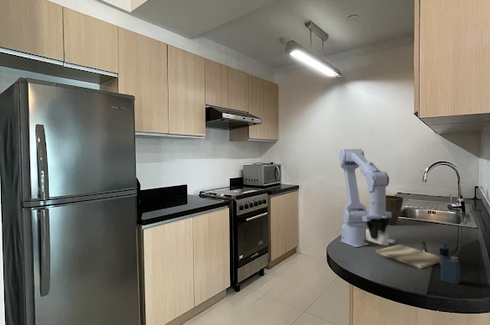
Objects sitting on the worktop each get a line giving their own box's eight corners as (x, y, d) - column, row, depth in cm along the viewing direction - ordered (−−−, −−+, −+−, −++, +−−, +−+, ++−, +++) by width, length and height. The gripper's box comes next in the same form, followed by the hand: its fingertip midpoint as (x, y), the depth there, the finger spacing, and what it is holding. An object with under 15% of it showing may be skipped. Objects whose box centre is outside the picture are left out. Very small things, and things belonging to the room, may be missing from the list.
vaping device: (439, 277, 89) (439, 241, 89) (459, 282, 86) (460, 245, 86) (438, 280, 87) (439, 243, 87) (459, 285, 84) (459, 247, 84)
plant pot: (403, 222, 162) (403, 196, 162) (402, 228, 150) (402, 199, 149) (376, 219, 170) (376, 194, 170) (373, 224, 158) (373, 197, 157)
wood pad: (375, 252, 113) (375, 250, 113) (399, 246, 120) (399, 244, 120) (420, 268, 97) (420, 265, 97) (444, 260, 104) (444, 257, 104)
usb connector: (364, 239, 109) (364, 229, 108) (369, 238, 110) (369, 228, 110) (390, 247, 98) (391, 236, 98) (396, 246, 100) (396, 235, 100)
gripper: (374, 206, 98) (373, 243, 98) (398, 202, 105) (398, 237, 105) (357, 203, 104) (357, 238, 105) (382, 200, 111) (382, 233, 111)
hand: (377, 237), depth 105 cm, fingers closed on usb connector, 3 cm apart
